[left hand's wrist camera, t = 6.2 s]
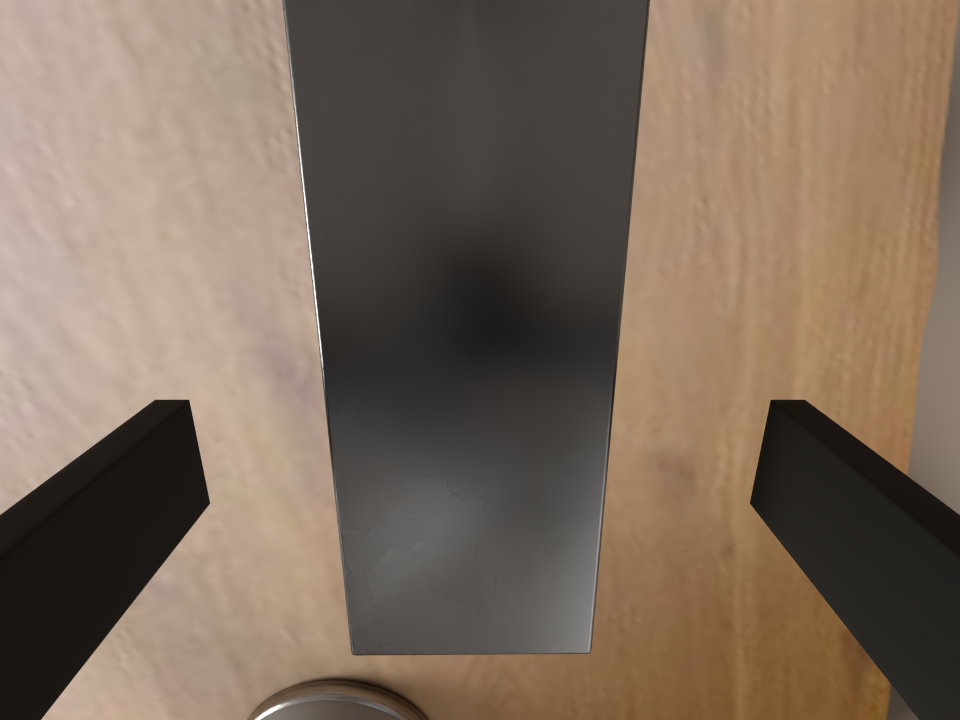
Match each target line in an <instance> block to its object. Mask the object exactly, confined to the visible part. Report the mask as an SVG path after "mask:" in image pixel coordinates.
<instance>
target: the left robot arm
mask: <svg viewBox="0 0 960 720" xmlns="http://www.w3.org/2000/svg"><path fill="white" fill-rule="evenodd" d="M209 504H210V501H209V496H208V491H207V486H206V481H205V476H204V471H203V466H202V461H201V456H200V451H199V446H198V441H197V436H196V431H195V426H194V421H193V416H192V411H191V407H190V402H189V400H154V401H153V402H152V403H150V404H149V405H148V406H146V407H145V408H144V409H142V410H141V411H140V412H138V413H137V414H136V415H134V416H133V417H131V418H130V419H129V420H127V421H126V422H125V423H123V424H122V425H121V426H119V427H118V428H117V429H115V430H114V431H113V432H111V433H110V434H109V435H107V436H106V437H105V438H103V439H102V440H101V441H99V442H98V443H97V444H95V445H94V446H93V447H91V448H90V449H88V450H87V451H86V452H84V453H83V454H82V455H80V456H79V457H78V458H76V459H75V460H74V461H72V462H71V463H70V464H68V465H67V466H66V467H64V468H63V469H62V470H60V471H59V472H58V473H56V474H55V475H54V476H52V477H51V478H50V479H48V480H47V481H45V482H44V483H43V484H41V485H40V486H39V487H37V488H36V489H35V490H33V491H32V492H31V493H29V494H28V495H27V496H25V497H24V498H23V499H21V500H20V501H19V502H17V503H16V504H15V505H13V506H12V507H11V508H9V509H8V510H7V511H5V512H4V513H2V514H1V515H0V720H41V719H42V718H43V716H44V715H45V714H46V713H47V711H48V710H49V709H50V707H51V706H52V705H53V704H54V702H55V701H56V700H57V698H58V697H59V696H60V695H61V693H62V692H63V691H64V689H65V688H66V687H67V686H68V684H69V683H70V682H71V681H72V679H73V678H74V677H75V675H76V674H77V673H78V672H79V670H80V669H81V668H82V666H83V665H84V664H85V663H86V661H87V660H88V659H89V658H90V656H91V655H92V654H93V652H94V651H95V650H96V649H97V647H98V646H99V645H100V643H101V642H102V641H103V640H104V638H105V637H106V636H107V635H108V633H109V632H110V631H111V629H112V628H113V627H114V626H115V624H116V623H117V622H118V620H119V619H120V618H121V617H122V615H123V614H124V613H125V611H126V610H127V609H128V608H129V606H130V605H131V604H132V603H133V601H134V600H135V599H136V597H137V596H138V595H139V594H140V592H141V591H142V590H143V588H144V587H145V586H146V585H147V583H148V582H149V581H150V580H151V578H152V577H153V576H154V574H155V573H156V572H157V571H158V569H159V568H160V567H161V565H162V564H163V563H164V562H165V560H166V559H167V558H168V557H169V555H170V554H171V553H172V551H173V550H174V549H175V548H176V546H177V545H178V544H179V542H180V541H181V540H182V539H183V537H184V536H185V535H186V533H187V532H188V531H189V530H190V528H191V527H192V526H193V525H194V523H195V522H196V521H197V519H198V518H199V517H200V516H201V514H202V513H203V512H204V510H205V509H206V508H207V507H208V505H209ZM750 504H751V505H752V507H753V508H754V509H755V510H756V512H757V513H758V514H759V516H760V517H761V518H762V519H763V521H764V522H765V523H766V525H767V526H768V527H769V528H770V530H771V531H772V532H773V533H774V535H775V536H776V537H777V539H778V540H779V541H780V542H781V544H782V545H783V546H784V548H785V549H786V550H787V551H788V553H789V554H790V555H791V557H792V558H793V559H794V560H795V562H796V563H797V564H798V565H799V567H800V568H801V569H802V571H803V572H804V573H805V574H806V576H807V577H808V578H809V580H810V581H811V582H812V583H813V585H814V586H815V587H816V588H817V590H818V591H819V592H820V594H821V595H822V596H823V597H824V599H825V600H826V601H827V603H828V604H829V605H830V606H831V608H832V609H833V610H834V611H835V613H836V614H837V615H838V617H839V618H840V619H841V620H842V622H843V623H844V624H845V626H846V627H847V628H848V629H849V631H850V632H851V633H852V635H853V636H854V637H855V638H856V640H857V641H858V642H859V643H860V645H861V646H862V647H863V649H864V650H865V651H866V652H867V654H868V655H869V656H870V658H871V659H872V660H873V661H874V663H875V664H876V665H877V666H878V668H879V669H880V670H881V672H882V673H883V674H884V675H885V677H886V678H887V679H888V681H889V682H890V683H891V684H892V686H893V687H894V688H895V689H896V691H897V692H898V693H899V695H900V696H901V697H902V698H903V700H904V701H905V702H906V704H907V705H908V706H909V707H910V709H911V710H912V711H913V712H914V714H915V715H916V716H917V718H918V719H919V720H960V515H959V514H958V513H956V512H955V511H953V510H952V509H951V508H949V507H948V506H947V505H945V504H944V503H943V502H941V501H940V500H939V499H937V498H936V497H935V496H933V495H932V494H931V493H929V492H928V491H927V490H925V489H924V488H923V487H921V486H920V485H919V484H917V483H916V482H914V481H913V480H912V479H910V478H909V477H908V476H906V475H905V474H904V473H902V472H901V471H900V470H898V469H897V468H896V467H894V466H893V465H892V464H890V463H889V462H888V461H886V460H885V459H884V458H882V457H881V456H880V455H878V454H877V453H876V452H874V451H873V450H872V449H870V448H869V447H867V446H866V445H865V444H863V443H862V442H861V441H859V440H858V439H857V438H855V437H854V436H853V435H851V434H850V433H849V432H847V431H846V430H845V429H843V428H842V427H841V426H839V425H838V424H837V423H835V422H834V421H833V420H831V419H830V418H829V417H827V416H826V415H824V414H823V413H822V412H820V411H819V410H818V409H816V408H815V407H814V406H812V405H811V404H810V403H808V402H807V401H806V400H771V402H770V407H769V411H768V416H767V421H766V426H765V431H764V436H763V441H762V446H761V451H760V456H759V461H758V466H757V471H756V476H755V481H754V486H753V491H752V496H751V501H750ZM248 720H427V719H426V718H425V717H424V715H423V714H422V713H421V712H420V711H418V710H417V709H416V708H415V707H414V706H412V705H411V704H410V703H408V702H407V701H405V700H404V699H402V698H401V697H399V696H397V695H395V694H393V693H391V692H388V691H386V690H383V689H380V688H377V687H374V686H371V685H367V684H363V683H357V682H350V681H335V680H330V681H316V682H309V683H304V684H300V685H297V686H293V687H290V688H288V689H285V690H282V691H280V692H278V693H276V694H274V695H273V696H271V697H269V698H268V699H266V700H265V701H264V702H263V703H261V704H260V705H259V706H258V707H257V708H256V709H255V710H254V711H253V712H252V714H251V715H250V716H249V718H248Z"/></svg>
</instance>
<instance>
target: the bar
mask: <svg viewBox="0 0 960 720" xmlns="http://www.w3.org/2000/svg"><path fill="white" fill-rule="evenodd" d="M282 1H283V11H284V20H285V30H286V39H287V49H288V58H289V67H290V77H291V86H292V96H293V105H294V115H295V124H296V134H297V143H298V152H299V162H300V171H301V181H302V190H303V200H304V209H305V218H306V228H307V237H308V247H309V256H310V266H311V275H312V285H313V294H314V303H315V313H316V322H317V332H318V341H319V351H320V360H321V370H322V379H323V388H324V398H325V407H326V417H327V426H328V436H329V445H330V455H331V464H332V473H333V483H334V492H335V502H336V511H337V521H338V530H339V540H340V549H341V558H342V568H343V577H344V587H345V596H346V606H347V615H348V624H349V634H350V643H351V652H352V654H353V655H467V654H588V653H590V652H591V647H592V636H593V625H594V614H595V603H596V592H597V581H598V570H599V559H600V548H601V537H602V526H603V515H604V504H605V493H606V481H607V470H608V459H609V448H610V437H611V426H612V415H613V404H614V393H615V382H616V371H617V360H618V349H619V338H620V327H621V316H622V305H623V293H624V282H625V271H626V260H627V249H628V238H629V227H630V216H631V205H632V194H633V183H634V172H635V161H636V150H637V139H638V128H639V117H640V105H641V94H642V83H643V72H644V61H645V50H646V39H647V28H648V17H649V6H650V0H282Z"/></svg>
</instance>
